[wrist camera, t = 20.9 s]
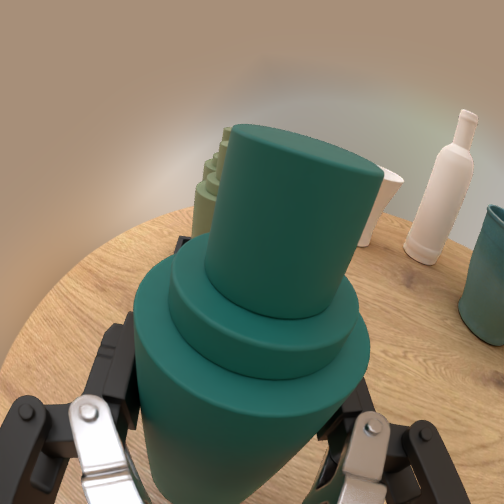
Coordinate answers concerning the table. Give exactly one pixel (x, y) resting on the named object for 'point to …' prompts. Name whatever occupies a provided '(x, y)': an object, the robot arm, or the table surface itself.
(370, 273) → the table surface
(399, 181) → the cup
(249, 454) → the teal bottle
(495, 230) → the flower pot
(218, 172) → the green bottle
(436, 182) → the bottle
